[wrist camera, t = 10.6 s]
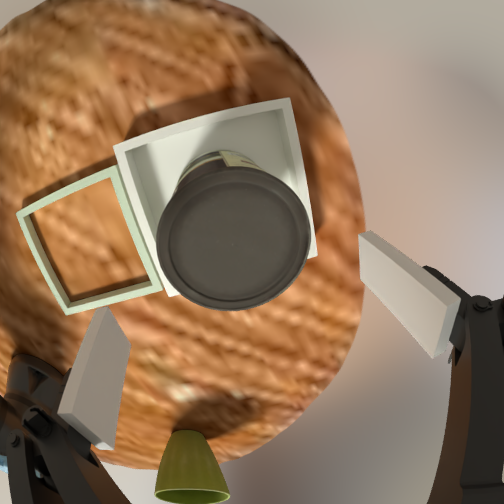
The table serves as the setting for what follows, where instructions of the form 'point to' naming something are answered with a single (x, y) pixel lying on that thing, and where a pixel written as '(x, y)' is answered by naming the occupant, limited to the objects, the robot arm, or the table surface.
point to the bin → (204, 140)
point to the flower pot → (190, 471)
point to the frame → (136, 233)
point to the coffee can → (232, 233)
